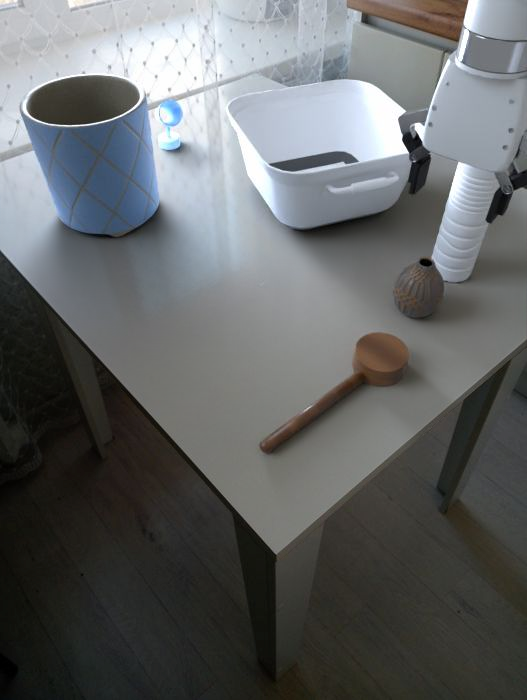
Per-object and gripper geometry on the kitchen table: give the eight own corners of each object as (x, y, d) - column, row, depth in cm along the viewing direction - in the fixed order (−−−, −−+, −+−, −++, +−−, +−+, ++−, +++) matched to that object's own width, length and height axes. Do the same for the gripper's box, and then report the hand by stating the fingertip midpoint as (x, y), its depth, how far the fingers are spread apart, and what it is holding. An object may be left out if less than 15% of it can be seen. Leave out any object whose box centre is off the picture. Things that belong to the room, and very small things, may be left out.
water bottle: (458, 289, 85) (512, 132, 66) (421, 271, 88) (462, 116, 69) (484, 262, 89) (541, 108, 71) (448, 245, 92) (494, 94, 74)
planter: (183, 195, 103) (169, 85, 88) (124, 253, 91) (96, 138, 76) (98, 173, 108) (72, 65, 93) (33, 225, 97) (-9, 112, 82)
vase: (446, 307, 82) (461, 261, 76) (421, 332, 79) (434, 285, 72) (406, 286, 85) (418, 240, 79) (381, 309, 82) (390, 263, 76)
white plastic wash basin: (436, 234, 94) (458, 153, 83) (280, 271, 88) (282, 189, 77) (348, 143, 116) (356, 69, 105) (218, 167, 109) (212, 92, 99)
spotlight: (188, 149, 114) (175, 135, 118) (183, 101, 107) (169, 87, 111) (166, 155, 113) (153, 141, 117) (159, 106, 105) (145, 93, 109)
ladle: (376, 339, 78) (379, 324, 76) (415, 368, 74) (419, 353, 72) (242, 434, 67) (241, 420, 65) (280, 473, 64) (281, 459, 62)
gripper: (603, 57, 51) (536, 214, 64) (432, 19, 58) (402, 167, 71) (579, 84, 47) (513, 245, 60) (398, 40, 54) (373, 193, 67)
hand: (453, 203), depth 66 cm, fingers open, 9 cm apart
